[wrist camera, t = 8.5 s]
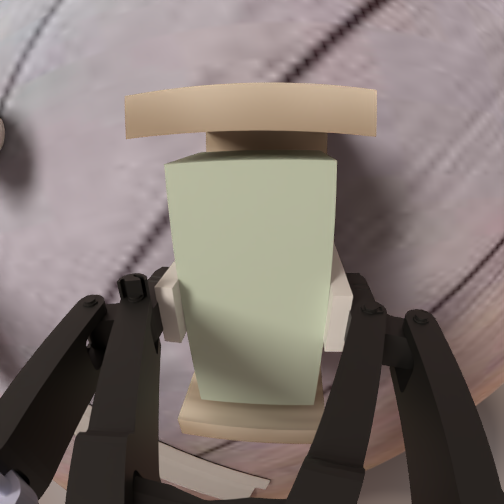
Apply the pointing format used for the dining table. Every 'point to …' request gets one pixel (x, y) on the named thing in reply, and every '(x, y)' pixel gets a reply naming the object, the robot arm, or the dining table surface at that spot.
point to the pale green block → (254, 269)
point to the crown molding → (197, 471)
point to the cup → (2, 133)
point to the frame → (253, 138)
